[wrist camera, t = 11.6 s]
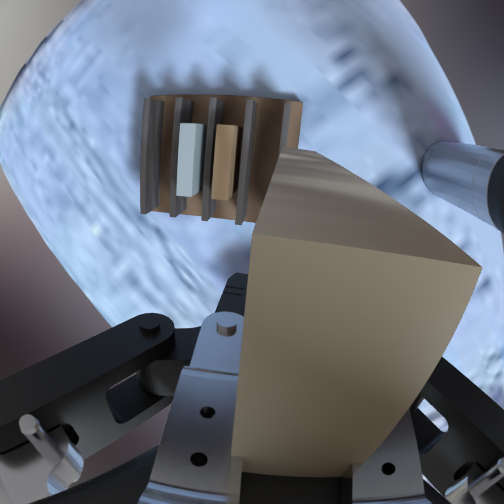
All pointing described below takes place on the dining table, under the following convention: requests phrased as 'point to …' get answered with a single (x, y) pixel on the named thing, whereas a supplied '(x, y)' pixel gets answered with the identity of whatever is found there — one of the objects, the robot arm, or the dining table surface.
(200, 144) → the offcut grey
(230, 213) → the rack
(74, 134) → the dining table surface
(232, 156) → the offcut oak
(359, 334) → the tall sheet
